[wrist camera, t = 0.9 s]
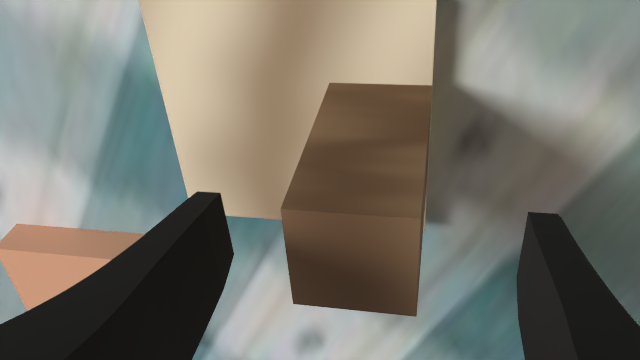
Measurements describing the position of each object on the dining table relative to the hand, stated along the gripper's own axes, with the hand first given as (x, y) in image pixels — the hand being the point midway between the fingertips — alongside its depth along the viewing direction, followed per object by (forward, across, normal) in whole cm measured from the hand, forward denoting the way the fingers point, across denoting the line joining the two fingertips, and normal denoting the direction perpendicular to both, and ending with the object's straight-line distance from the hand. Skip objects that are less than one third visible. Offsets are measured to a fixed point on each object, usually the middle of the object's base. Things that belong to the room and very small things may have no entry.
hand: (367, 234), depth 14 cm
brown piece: (+6, +3, 0) cm, 7 cm away
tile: (+6, +13, +9) cm, 17 cm away
